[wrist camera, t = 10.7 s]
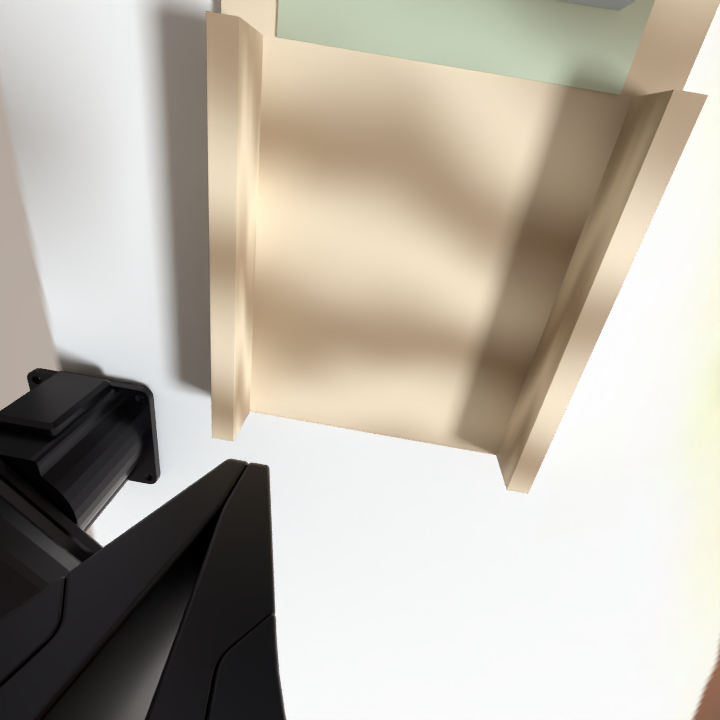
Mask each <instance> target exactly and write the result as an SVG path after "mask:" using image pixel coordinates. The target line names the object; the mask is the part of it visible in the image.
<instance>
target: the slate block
mask: <svg viewBox="0 0 720 720" xmlns="http://www.w3.org/2000/svg"><path fill="white" fill-rule="evenodd" d="M558 1H564V2H570V3H576V4H582V5H588V6H594V7H600V8H606V9H612V10H618V11H620V10H622V9H623V8H625V7H627V6H628V5H630V4H631V3H633V2H635V1H636V0H558Z"/></svg>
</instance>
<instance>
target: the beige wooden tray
mask: <svg viewBox="0 0 720 720" xmlns="http://www.w3.org/2000/svg"><path fill="white" fill-rule="evenodd" d="M719 3H720V0H636V1H635V2H633V3H631V4H630V5H628V6H627V7H625V8H623V9H622V10H620V11H618V10H612V9H606V8H600V7H594V6H588V5H582V4H576V3H570V2H564V1H558V0H221V13H215V12H209V11H206V44H207V115H208V186H209V257H210V328H211V399H212V438H217V439H222V440H228V441H233V440H234V439H235V437H236V435H237V433H238V432H239V430H240V428H241V426H242V424H243V423H244V421H245V419H246V417H247V416H248V414H249V412H255V413H261V414H267V415H272V416H278V417H284V418H289V419H295V420H301V421H306V422H312V423H318V424H323V425H329V426H335V427H340V428H346V429H352V430H357V431H363V432H369V433H374V434H380V435H386V436H391V437H397V438H403V439H408V440H414V441H420V442H426V443H431V444H437V445H443V446H448V447H454V448H460V449H465V450H471V451H477V452H482V453H488V454H494V455H496V456H497V459H498V462H499V466H500V469H501V472H502V476H503V479H504V482H505V486H506V489H507V490H511V491H516V492H522V493H528V492H529V490H530V488H531V486H532V484H533V481H534V479H535V477H536V475H537V473H538V470H539V468H540V466H541V464H542V461H543V459H544V457H545V455H546V453H547V450H548V448H549V446H550V444H551V442H552V439H553V437H554V435H555V433H556V430H557V428H558V426H559V424H560V422H561V419H562V417H563V415H564V413H565V411H566V408H567V406H568V404H569V402H570V399H571V397H572V395H573V393H574V391H575V388H576V386H577V384H578V382H579V380H580V377H581V375H582V373H583V371H584V368H585V366H586V364H587V362H588V360H589V357H590V355H591V353H592V351H593V349H594V346H595V344H596V342H597V340H598V337H599V335H600V333H601V331H602V329H603V326H604V324H605V322H606V320H607V318H608V315H609V313H610V311H611V309H612V306H613V304H614V302H615V300H616V298H617V295H618V293H619V291H620V289H621V287H622V284H623V282H624V280H625V278H626V275H627V273H628V271H629V269H630V267H631V264H632V262H633V260H634V258H635V256H636V253H637V251H638V249H639V247H640V244H641V242H642V240H643V238H644V236H645V233H646V231H647V229H648V227H649V225H650V222H651V220H652V218H653V216H654V213H655V211H656V209H657V207H658V205H659V202H660V200H661V198H662V196H663V194H664V191H665V189H666V187H667V185H668V182H669V180H670V178H671V176H672V174H673V171H674V169H675V167H676V165H677V163H678V160H679V158H680V156H681V154H682V151H683V149H684V147H685V145H686V143H687V140H688V138H689V136H690V134H691V132H692V129H693V127H694V125H695V123H696V120H697V118H698V116H699V114H700V112H701V109H702V107H703V105H704V103H705V101H706V98H707V96H708V95H704V94H698V93H692V92H686V91H682V90H683V88H684V85H685V83H686V81H687V78H688V76H689V74H690V71H691V69H692V67H693V64H694V62H695V60H696V57H697V55H698V52H699V50H700V48H701V45H702V43H703V41H704V38H705V36H706V34H707V31H708V29H709V27H710V24H711V22H712V20H713V17H714V15H715V13H716V10H717V8H718V6H719Z"/></svg>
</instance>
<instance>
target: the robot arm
mask: <svg viewBox="0 0 720 720" xmlns="http://www.w3.org/2000/svg"><path fill="white" fill-rule="evenodd" d="M39 378H40V379H39ZM27 379H28V383H29V387H30V391H29V392H28V393H26V394H25V395H23V396H22V397H20V398H19V399H17V400H16V401H14V402H13V403H12V404H10V405H8V406H7V407H5V408H4V409H2V410H1V411H0V720H286V715H285V709H284V702H283V696H282V689H281V682H280V675H279V663H278V650H277V636H276V617H275V593H274V569H273V545H272V521H271V497H270V473H269V467H268V466H267V465H263V464H258V463H250V464H248V463H247V462H246V461H241V460H235V459H228V460H226V461H224V462H223V463H221V464H220V465H219V466H217V467H216V468H214V469H213V470H212V471H210V472H209V473H207V474H206V475H205V476H203V477H202V478H200V479H199V480H197V481H196V482H195V483H193V484H192V485H190V486H189V487H188V488H186V489H185V490H183V491H182V492H181V493H179V494H178V495H176V496H175V497H174V498H172V499H171V500H169V501H168V502H167V503H165V504H164V505H162V506H161V507H160V508H158V509H157V510H155V511H154V512H153V513H151V514H150V515H148V516H147V517H146V518H144V519H143V520H141V521H140V522H138V523H137V524H136V525H134V526H133V527H131V528H130V529H129V530H127V531H126V532H124V533H123V534H122V535H120V536H119V537H117V538H116V539H115V540H113V541H112V542H110V543H109V544H108V545H106V546H105V547H102V546H101V545H100V544H99V543H98V542H97V541H95V540H94V539H93V538H92V537H91V536H90V535H88V534H87V533H86V531H87V530H88V529H89V527H90V526H91V525H92V524H93V523H94V521H95V520H96V519H97V518H98V516H99V515H100V514H101V513H102V511H103V510H104V509H105V508H106V506H107V505H108V504H109V503H110V502H111V500H112V499H113V498H114V497H115V495H116V494H117V493H118V492H119V490H120V489H121V488H122V487H123V486H124V484H125V483H126V482H127V481H128V480H130V481H136V482H142V483H147V484H154V483H155V482H156V481H157V480H158V478H159V477H160V465H159V454H158V443H157V431H156V420H155V409H154V398H153V393H152V392H151V390H149V389H148V388H146V387H143V386H138V385H132V384H127V383H121V382H115V381H110V380H106V379H102V378H96V377H90V376H85V375H79V374H73V373H68V372H62V371H60V372H58V371H53V370H47V369H41V368H37V369H35V370H33V371H32V372H30V373H29V374H28V375H27ZM140 395H142V396H143V397H144V398H145V399H144V398H142V397H141V396H140Z"/></svg>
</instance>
